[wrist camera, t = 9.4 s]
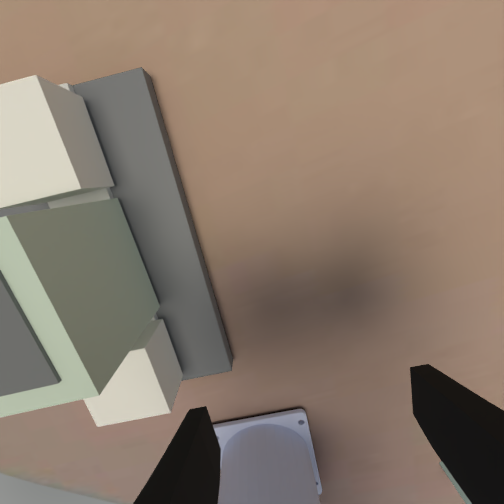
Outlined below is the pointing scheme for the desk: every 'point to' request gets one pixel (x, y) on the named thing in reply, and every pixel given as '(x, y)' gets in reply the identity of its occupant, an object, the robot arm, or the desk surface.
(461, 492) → the l-shaped corner panel
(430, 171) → the desk surface
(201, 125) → the desk surface
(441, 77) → the desk surface
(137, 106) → the rail board
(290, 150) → the desk surface
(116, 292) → the block
